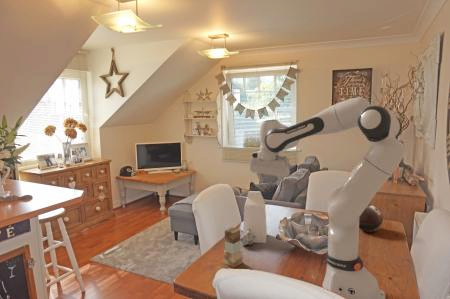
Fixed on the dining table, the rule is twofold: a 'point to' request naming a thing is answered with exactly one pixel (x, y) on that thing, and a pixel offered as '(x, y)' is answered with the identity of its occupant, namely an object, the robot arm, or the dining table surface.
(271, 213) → the dining table surface
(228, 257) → the oak base block
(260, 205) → the milk
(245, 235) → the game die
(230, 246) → the sage block
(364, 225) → the wooden sphere
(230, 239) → the walnut block
